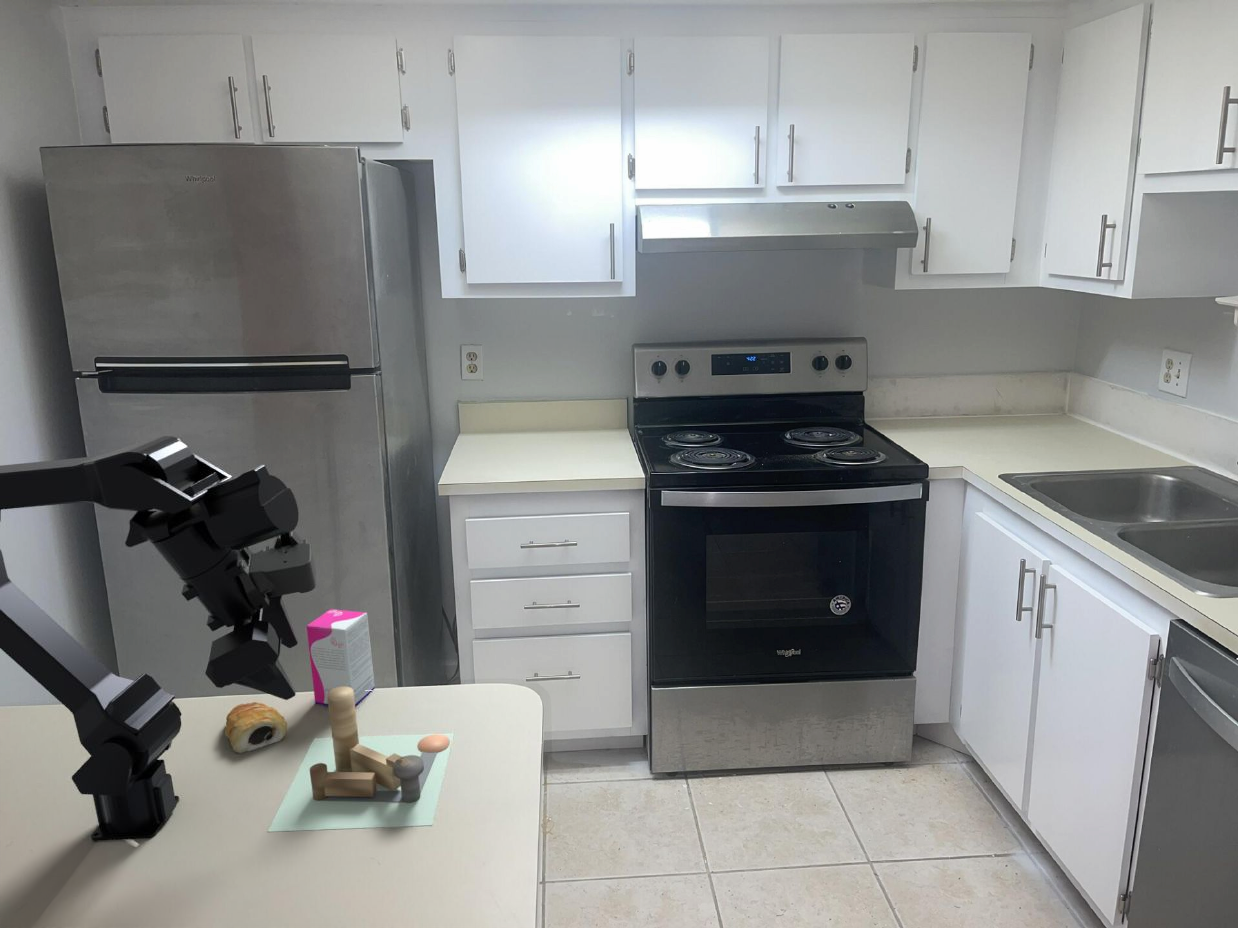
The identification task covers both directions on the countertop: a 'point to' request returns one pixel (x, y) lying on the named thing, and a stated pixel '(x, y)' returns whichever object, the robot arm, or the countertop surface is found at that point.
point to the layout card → (366, 811)
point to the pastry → (254, 726)
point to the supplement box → (340, 654)
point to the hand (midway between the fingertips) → (292, 670)
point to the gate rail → (358, 756)
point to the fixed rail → (355, 784)
